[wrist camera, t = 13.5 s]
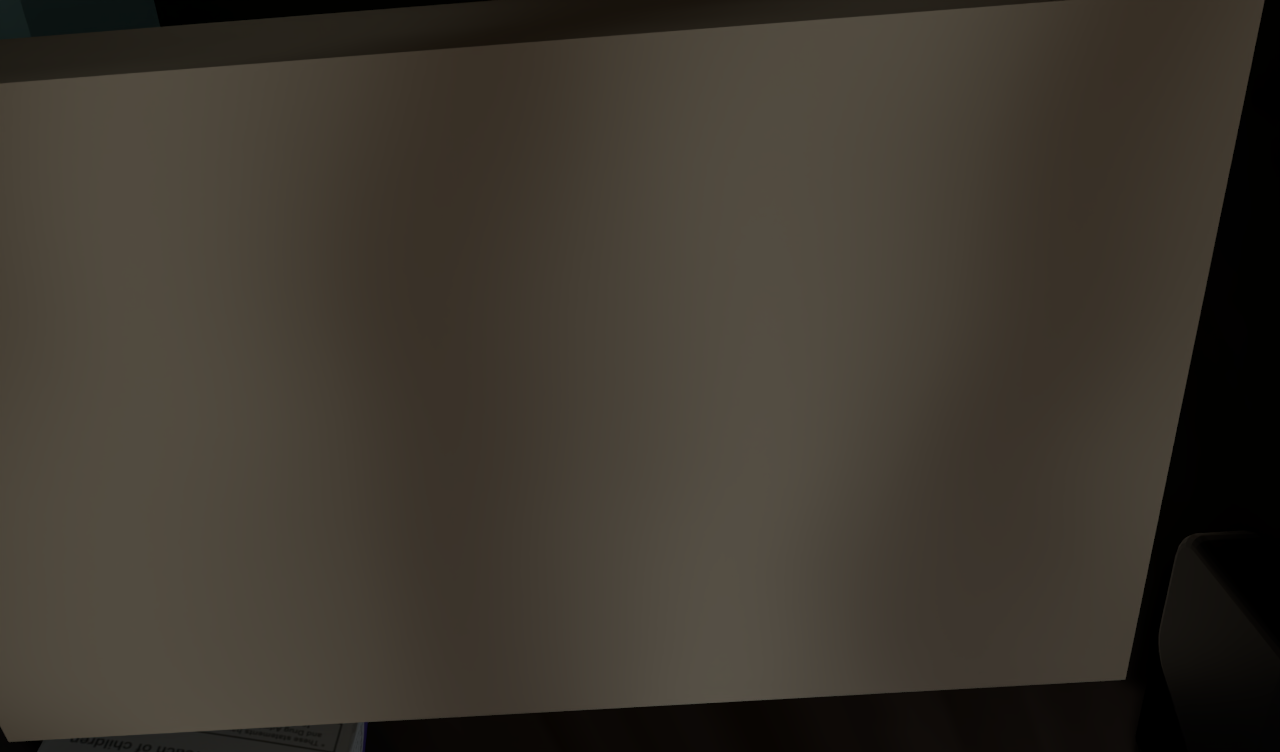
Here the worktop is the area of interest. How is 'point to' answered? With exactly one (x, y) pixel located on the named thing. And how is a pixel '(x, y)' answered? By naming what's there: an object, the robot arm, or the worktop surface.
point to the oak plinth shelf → (593, 352)
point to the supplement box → (226, 740)
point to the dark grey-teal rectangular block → (73, 16)
